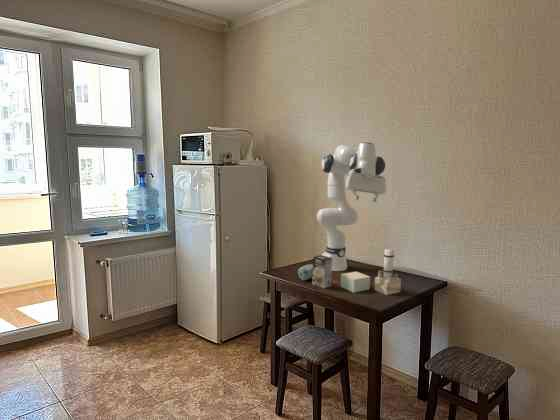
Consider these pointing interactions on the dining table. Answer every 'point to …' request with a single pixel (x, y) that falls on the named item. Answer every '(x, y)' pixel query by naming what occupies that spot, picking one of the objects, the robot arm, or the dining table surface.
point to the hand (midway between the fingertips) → (365, 200)
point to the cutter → (336, 283)
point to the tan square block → (387, 283)
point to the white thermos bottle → (388, 263)
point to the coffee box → (322, 271)
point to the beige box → (355, 281)
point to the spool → (306, 272)
